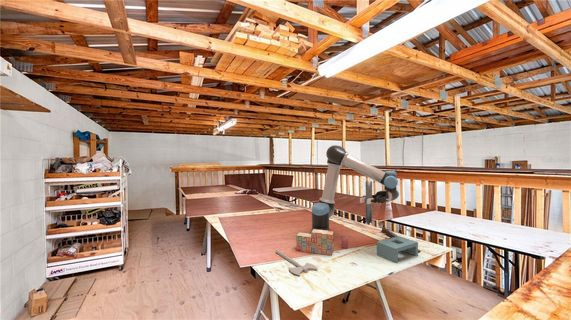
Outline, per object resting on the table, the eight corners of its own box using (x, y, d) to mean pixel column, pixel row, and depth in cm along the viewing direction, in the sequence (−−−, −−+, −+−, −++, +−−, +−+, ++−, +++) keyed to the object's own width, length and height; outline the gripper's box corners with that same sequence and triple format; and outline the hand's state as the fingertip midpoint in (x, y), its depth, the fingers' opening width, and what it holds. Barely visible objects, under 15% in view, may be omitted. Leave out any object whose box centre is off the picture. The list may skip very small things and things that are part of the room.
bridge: (395, 262, 127) (395, 248, 127) (376, 254, 138) (376, 241, 137) (417, 255, 137) (418, 242, 137) (398, 248, 148) (398, 235, 147)
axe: (266, 256, 137) (266, 251, 137) (287, 251, 145) (287, 247, 145) (297, 278, 112) (297, 273, 112) (319, 271, 119) (319, 266, 119)
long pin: (367, 223, 139) (367, 181, 139) (364, 221, 143) (364, 181, 143) (373, 222, 140) (373, 181, 139) (370, 221, 143) (370, 181, 143)
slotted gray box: (420, 258, 142) (420, 250, 141) (416, 258, 141) (417, 250, 141) (382, 231, 180) (383, 225, 180) (380, 232, 180) (380, 225, 180)
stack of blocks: (296, 250, 144) (296, 230, 144) (299, 247, 150) (299, 227, 150) (332, 255, 136) (332, 234, 136) (333, 251, 142) (333, 231, 142)
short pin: (342, 248, 147) (342, 238, 147) (340, 246, 150) (340, 236, 150) (348, 248, 147) (348, 237, 147) (346, 246, 151) (346, 236, 150)
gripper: (396, 204, 147) (377, 210, 131) (371, 200, 159) (351, 205, 144) (396, 192, 147) (377, 196, 131) (371, 189, 159) (351, 193, 144)
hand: (364, 201), depth 138 cm, fingers closed on long pin, 4 cm apart
